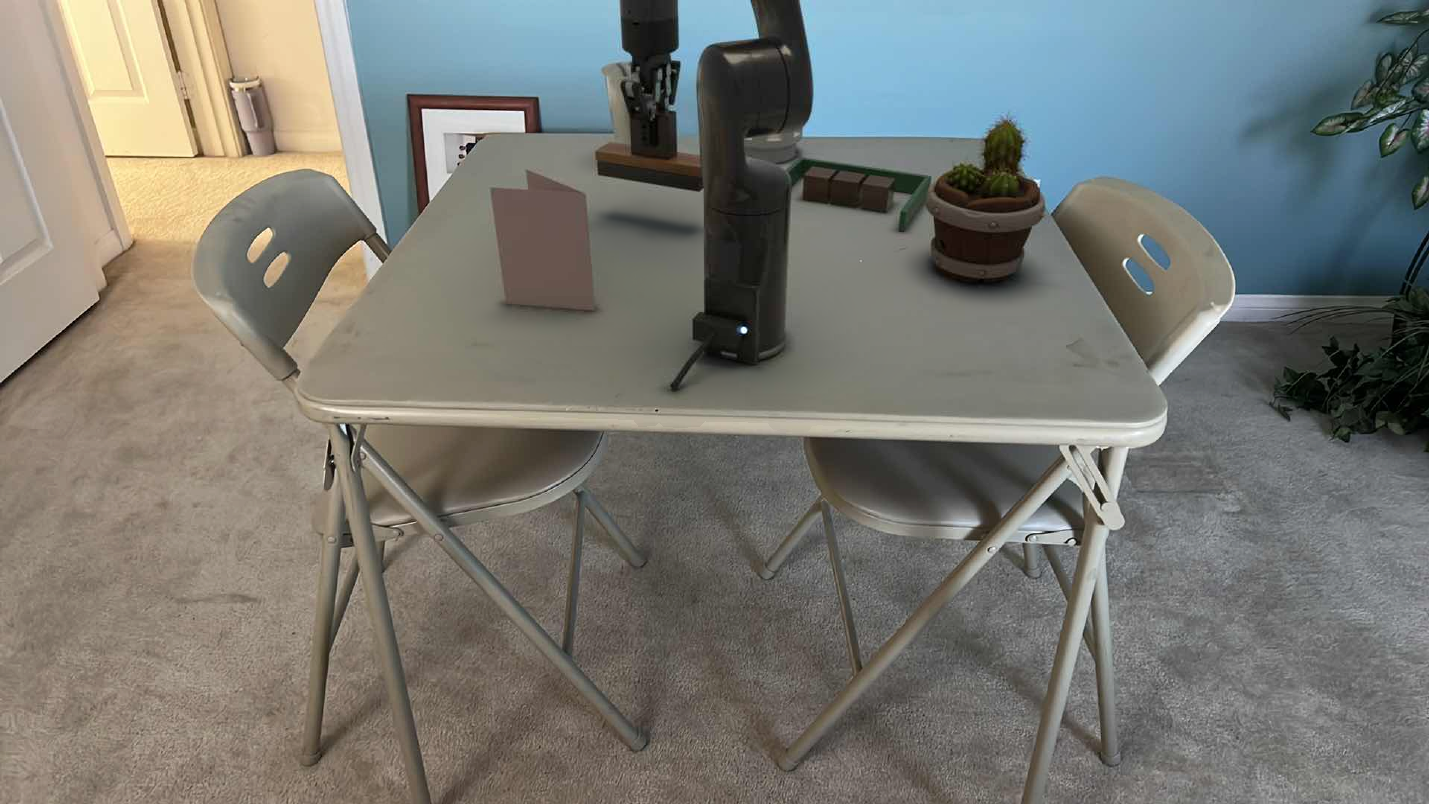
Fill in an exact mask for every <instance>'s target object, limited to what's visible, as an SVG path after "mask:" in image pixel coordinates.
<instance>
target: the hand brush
mask: <svg viewBox="0 0 1429 804" xmlns="http://www.w3.org/2000/svg"><path fill="white" fill-rule="evenodd" d="M648 110H649V108H648ZM629 118H630V116H629ZM655 121H656V133H657V146H656V147H654V148H646V147H642V146H641V142H640V122H639V120H637V119H631V118H630V139H631V145H628V144H622V143H615V141H609V142H607V143H605V144H604V145H602V146H601V147H599V148H597V149H596V150H595V151H594V154H595V161H596V168H597V169H596V170H597V175H598V176H602V177H607V178H612V179H617V180H618V179H619V180H625V181H632V182H638V183H644V184H648V185H655V186H661V187H667V188H674V189H680V190H685V191H691V192H698V193H700V192H702V190H704V189H703V179H702V172H701V163H700V154H693V153H687V152H681V151H678V127H677V125H678V124H677V122H678V121H677V110H670V109H669V110H662V109H656V119H655Z"/></svg>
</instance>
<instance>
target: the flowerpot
mask: <svg viewBox="0 0 1429 804" xmlns="http://www.w3.org/2000/svg"><path fill="white" fill-rule="evenodd" d="M1009 114H1010V109H1009V110H1008V112H1007V114H1006V118H1004V117H1003V116H1002V115H998V116H999V117H997V119H999V120H996V121H995V124H989V126H990V127H986V129H987V130H988V131H984V133H981V134H982V135H980V137H981V138H980V137H979V136H977V137H978V139H980V144H979V145H980V147H981V149H979V151H980V153H977V156H978V155H979V156H978V159H981V161H979V164H980V165H978V167H977V166H974V165H973V163H974V161H975V160H973V161H972V162H971V163H968V156H966V159H964V162H960V163H959V165H955V164H954V162H955V160H953V161H952V165H951V170H949V171H947V172H945V173H943V174H942V175H941V176H940V177H939V178H937V180H935V181H934V182H931V184H930V186H929V188H928V191H927V195H926V200H925V207H926V210H927V212H928V213H929V214H930V215H931V216H932V218H933V226H934V236H933V237H932V239H931V240H930V254H931V259H932V261H933V262H934V263H935V265H936V268H937V270H938V271H939V272H940V273H941V274H943V275H944V276H946V277H947V278H949V279H953V280H960V281H962V282H964V283H975V282H979V281H981V280H982V281H983V282H984V283H985V284H994V283H996V282H1003V281H1005V280H1007V279H1008V278H1009V277H1011V276H1012V275H1013V274H1014V273H1015V272H1017V271H1018V269H1020V268H1021V267H1022V265H1023V264H1022V263H1023V261H1024V258H1025V255H1026V254H1025V249H1024V247H1025V245H1026V243H1027V240H1028V239H1029V236H1030V234H1031V231H1032V229H1033V227H1034V226H1036V225H1038V224H1039V223H1040V222H1041V221H1042V219H1043V218H1045V210H1046V199H1045V196H1044V195H1043V193H1042V192H1041V188H1040V187H1039V184H1038V183H1037V182H1036V181H1035V179H1031V178H1026V177H1024V176H1023V175H1022V174H1021V173H1024V174H1025V172H1024V171H1022V170H1023V167H1025V164H1023V161H1026V158H1029V156H1027V155H1026V154H1025V153H1026V148H1025V146H1026V147H1028V148H1029V145H1028V143H1027V142H1029V143H1031V141H1030V140H1028V136H1026V138H1025V135H1027V133H1026V132H1023V131H1025V129H1023V128H1024V127H1020V126H1021V123H1018V121H1019V119H1017V120H1015V121H1013V120H1012V119H1014V118H1015V117H1017V116H1018V115H1014V116H1012V115H1009ZM991 126H993V127H991ZM1018 126H1019V127H1018ZM985 134H986V135H985ZM981 140H982V141H981ZM1025 157H1026V158H1025Z"/></svg>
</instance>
